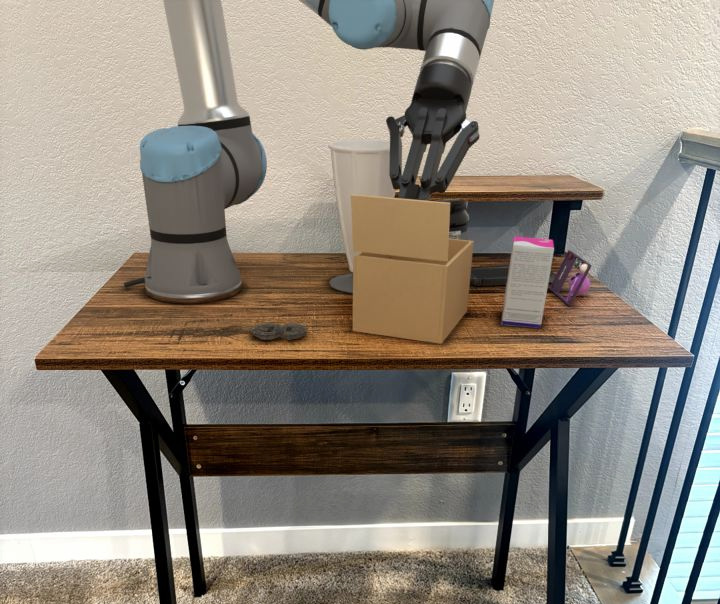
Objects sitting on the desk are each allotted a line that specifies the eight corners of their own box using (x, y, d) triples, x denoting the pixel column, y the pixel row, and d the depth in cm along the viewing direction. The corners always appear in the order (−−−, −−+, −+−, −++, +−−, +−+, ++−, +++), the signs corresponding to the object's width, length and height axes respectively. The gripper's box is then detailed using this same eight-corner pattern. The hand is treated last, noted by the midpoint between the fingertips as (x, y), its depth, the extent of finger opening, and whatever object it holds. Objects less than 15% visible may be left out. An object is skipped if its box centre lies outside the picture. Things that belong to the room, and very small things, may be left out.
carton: (441, 344, 99) (447, 266, 94) (352, 331, 103) (353, 255, 98) (467, 311, 111) (473, 240, 106) (386, 300, 115) (388, 232, 110)
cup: (343, 271, 129) (343, 137, 118) (405, 278, 126) (412, 141, 114) (318, 289, 119) (316, 145, 108) (385, 297, 116) (390, 150, 105)
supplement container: (420, 254, 140) (423, 187, 134) (472, 261, 136) (479, 193, 130) (398, 267, 132) (401, 197, 125) (453, 275, 128) (459, 203, 122)
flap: (448, 260, 94) (447, 261, 93) (354, 250, 97) (353, 251, 97) (450, 202, 89) (449, 203, 89) (351, 194, 93) (350, 195, 92)
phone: (460, 267, 128) (540, 263, 131) (459, 273, 128) (539, 269, 131) (474, 279, 121) (558, 275, 124) (474, 286, 122) (557, 282, 125)
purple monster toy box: (564, 248, 118) (585, 263, 111) (591, 258, 120) (614, 274, 112) (545, 287, 121) (564, 304, 114) (571, 296, 123) (592, 314, 115)
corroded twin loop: (306, 342, 98) (306, 335, 98) (247, 341, 98) (247, 334, 98) (309, 329, 103) (309, 322, 102) (252, 328, 103) (252, 321, 102)
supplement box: (542, 328, 105) (554, 247, 99) (500, 325, 106) (510, 244, 100) (541, 315, 110) (553, 238, 104) (502, 312, 111) (511, 235, 105)
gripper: (494, 104, 101) (455, 255, 96) (404, 100, 105) (362, 245, 100) (491, 61, 94) (449, 221, 89) (394, 58, 98) (349, 212, 93)
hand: (403, 233), depth 95 cm, fingers closed
